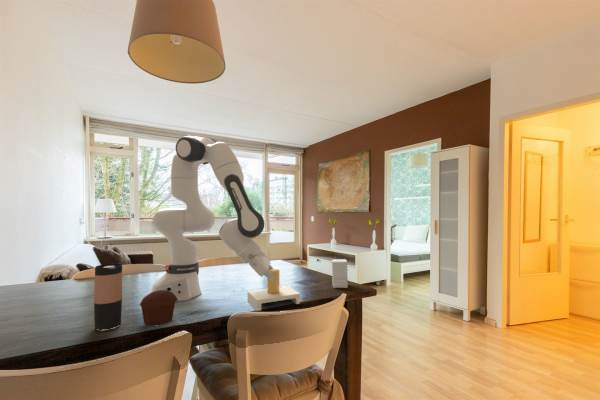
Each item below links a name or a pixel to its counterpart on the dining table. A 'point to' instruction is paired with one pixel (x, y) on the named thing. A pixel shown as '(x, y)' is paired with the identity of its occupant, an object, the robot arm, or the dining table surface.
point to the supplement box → (339, 273)
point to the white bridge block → (272, 296)
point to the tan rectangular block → (273, 282)
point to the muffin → (158, 307)
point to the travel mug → (108, 296)
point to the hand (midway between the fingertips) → (274, 276)
